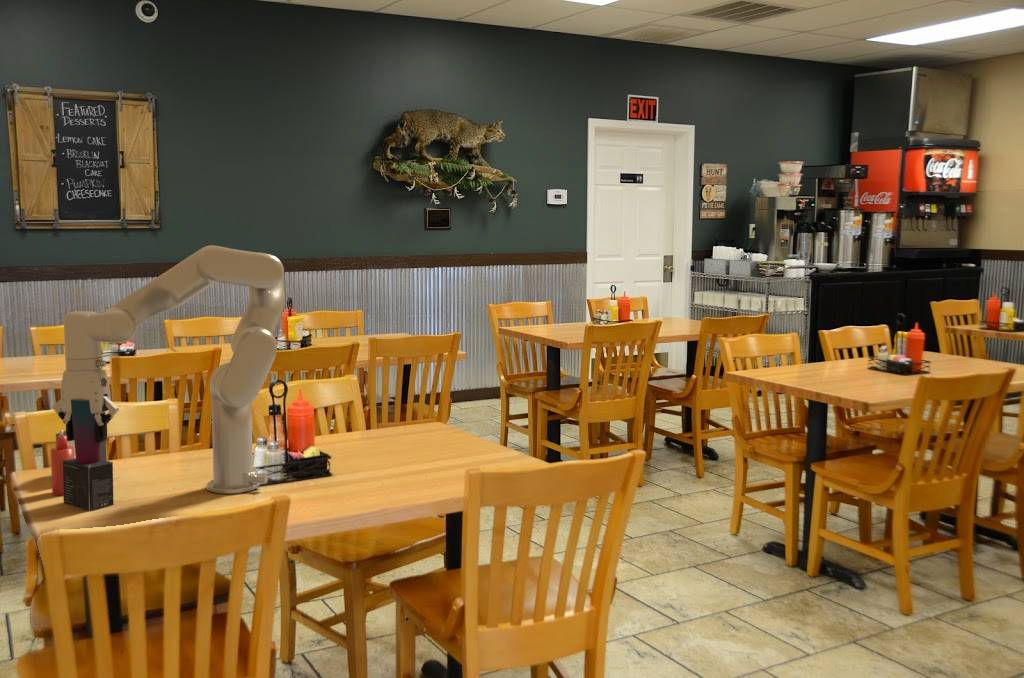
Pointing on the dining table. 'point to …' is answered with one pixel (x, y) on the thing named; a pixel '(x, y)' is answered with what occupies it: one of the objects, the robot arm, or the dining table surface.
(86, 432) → the cup
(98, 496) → the box
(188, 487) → the dining table surface
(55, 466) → the ketchup bottle
